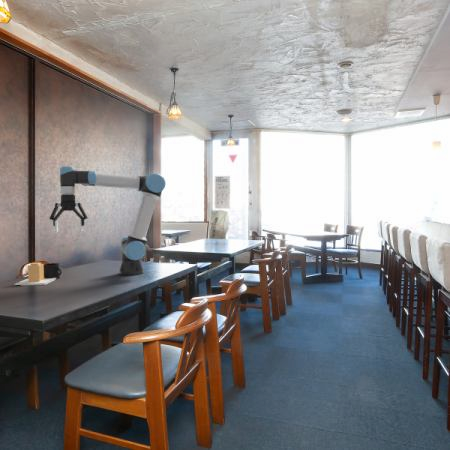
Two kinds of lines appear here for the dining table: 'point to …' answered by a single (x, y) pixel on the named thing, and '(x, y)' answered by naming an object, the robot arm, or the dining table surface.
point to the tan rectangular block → (35, 272)
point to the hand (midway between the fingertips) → (69, 231)
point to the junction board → (43, 282)
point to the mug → (52, 270)
